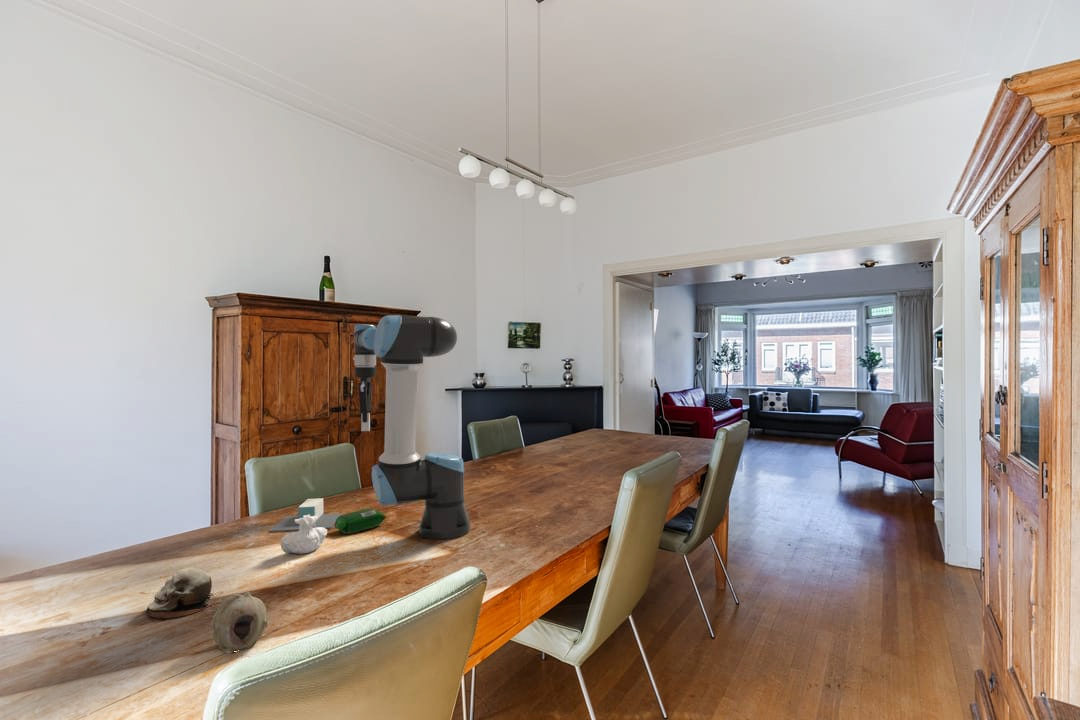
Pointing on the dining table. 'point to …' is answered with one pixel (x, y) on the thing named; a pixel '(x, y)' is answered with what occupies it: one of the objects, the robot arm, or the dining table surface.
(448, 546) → the dining table surface
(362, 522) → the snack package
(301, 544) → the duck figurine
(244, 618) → the grey-brown rounded hollow piece
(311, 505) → the tall block
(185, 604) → the skull
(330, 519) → the rubber mat
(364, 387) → the robot arm
